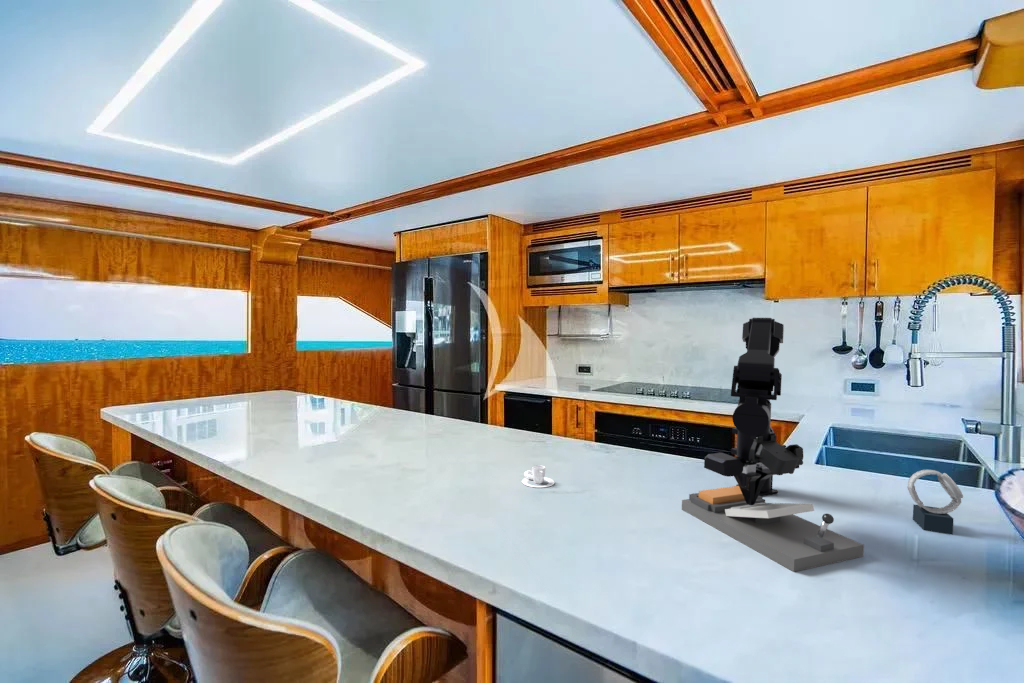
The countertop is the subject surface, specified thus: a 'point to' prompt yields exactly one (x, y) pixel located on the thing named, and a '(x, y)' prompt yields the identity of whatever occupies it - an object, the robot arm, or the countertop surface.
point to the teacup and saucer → (537, 477)
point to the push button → (722, 495)
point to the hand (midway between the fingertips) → (750, 504)
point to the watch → (934, 516)
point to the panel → (777, 535)
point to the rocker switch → (768, 510)
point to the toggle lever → (825, 524)
